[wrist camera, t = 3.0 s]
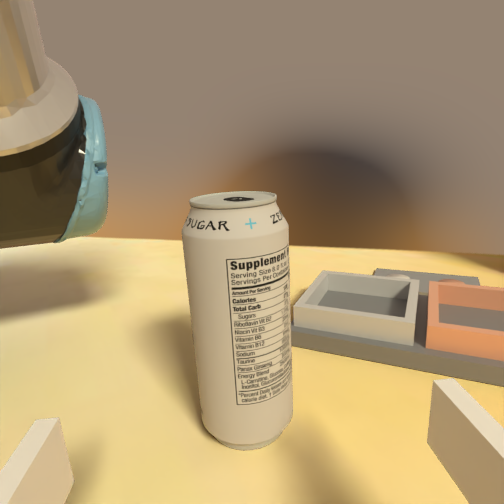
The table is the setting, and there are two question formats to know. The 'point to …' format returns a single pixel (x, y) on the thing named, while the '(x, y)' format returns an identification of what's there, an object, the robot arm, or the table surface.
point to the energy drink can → (240, 315)
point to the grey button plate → (427, 278)
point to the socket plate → (405, 324)
